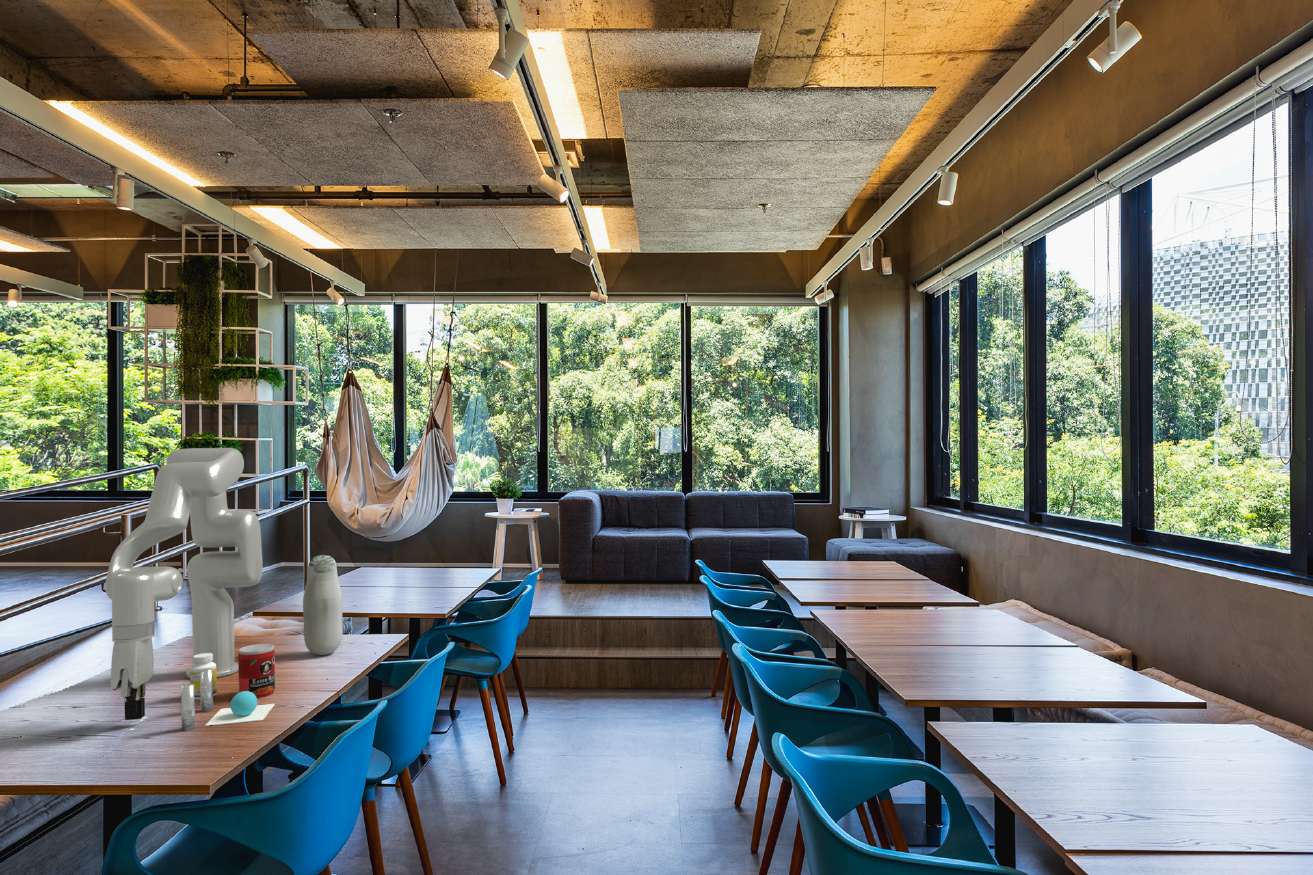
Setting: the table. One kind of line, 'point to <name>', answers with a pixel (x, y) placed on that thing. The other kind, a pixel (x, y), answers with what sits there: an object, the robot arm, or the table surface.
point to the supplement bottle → (199, 663)
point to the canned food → (257, 669)
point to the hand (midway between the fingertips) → (134, 717)
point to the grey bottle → (322, 606)
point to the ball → (243, 703)
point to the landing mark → (229, 717)
